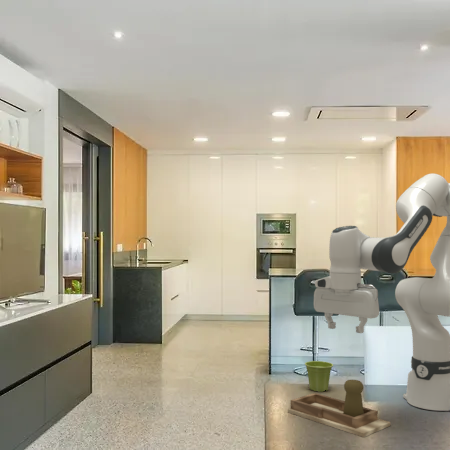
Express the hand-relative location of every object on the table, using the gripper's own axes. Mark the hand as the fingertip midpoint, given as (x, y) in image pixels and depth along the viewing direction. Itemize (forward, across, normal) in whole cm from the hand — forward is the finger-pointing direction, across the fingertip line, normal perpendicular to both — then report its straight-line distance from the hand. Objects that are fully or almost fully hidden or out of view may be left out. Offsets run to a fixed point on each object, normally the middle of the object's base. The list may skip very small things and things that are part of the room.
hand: (345, 330), depth 156 cm
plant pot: (+26, +23, -17) cm, 38 cm away
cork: (+24, -4, +3) cm, 25 cm away
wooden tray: (+25, +1, +3) cm, 25 cm away
